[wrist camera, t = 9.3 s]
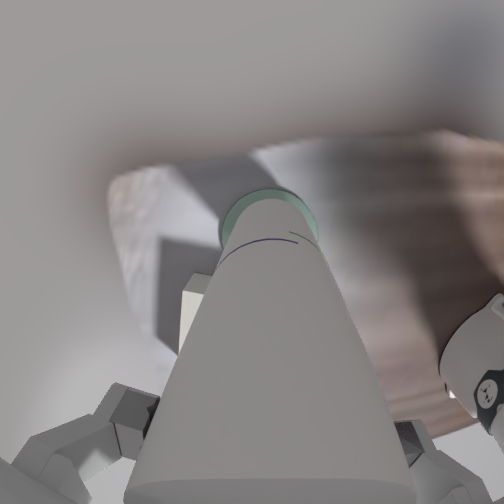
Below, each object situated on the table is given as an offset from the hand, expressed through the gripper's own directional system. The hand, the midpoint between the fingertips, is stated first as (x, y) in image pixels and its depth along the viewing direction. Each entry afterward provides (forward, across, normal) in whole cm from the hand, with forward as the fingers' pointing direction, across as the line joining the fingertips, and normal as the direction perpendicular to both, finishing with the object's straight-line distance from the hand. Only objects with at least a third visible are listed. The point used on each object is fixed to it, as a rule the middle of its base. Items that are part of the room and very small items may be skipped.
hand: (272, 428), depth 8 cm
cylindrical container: (+22, 0, -1) cm, 22 cm away
